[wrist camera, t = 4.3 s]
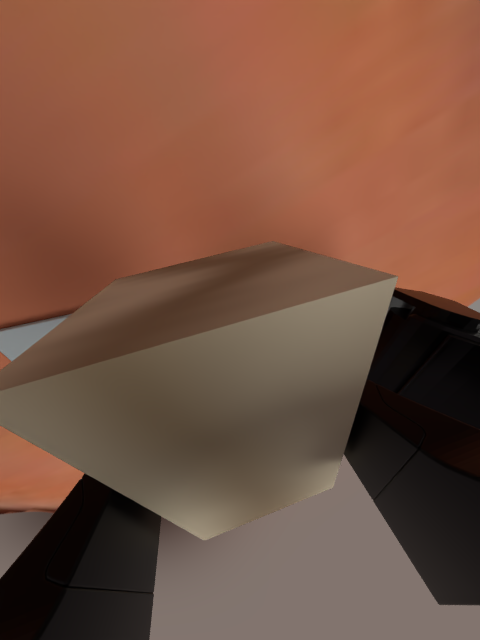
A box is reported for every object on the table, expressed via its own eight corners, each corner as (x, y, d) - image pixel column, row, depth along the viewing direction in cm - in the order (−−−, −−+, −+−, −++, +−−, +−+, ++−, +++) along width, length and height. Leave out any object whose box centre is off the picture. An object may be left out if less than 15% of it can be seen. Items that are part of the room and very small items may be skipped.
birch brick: (272, 241, 7) (398, 276, 3) (284, 394, 12) (333, 487, 8) (115, 279, 6) (-39, 402, 2) (200, 423, 12) (204, 540, 7)
